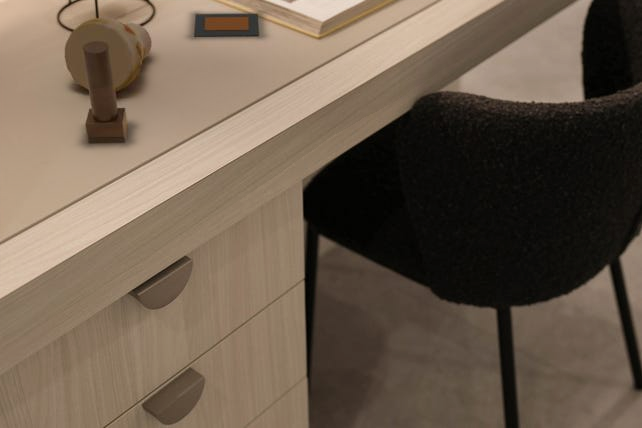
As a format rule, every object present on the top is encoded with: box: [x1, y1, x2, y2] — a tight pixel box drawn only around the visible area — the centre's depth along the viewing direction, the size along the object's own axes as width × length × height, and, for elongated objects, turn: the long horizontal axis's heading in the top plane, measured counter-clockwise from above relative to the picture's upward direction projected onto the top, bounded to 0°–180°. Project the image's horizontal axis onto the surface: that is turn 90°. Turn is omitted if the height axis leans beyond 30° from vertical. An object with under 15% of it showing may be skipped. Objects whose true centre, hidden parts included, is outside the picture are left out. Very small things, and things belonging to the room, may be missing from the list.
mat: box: [193, 13, 260, 38], centre depth 96 cm, size 7×5×1 cm
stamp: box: [82, 41, 129, 144], centre depth 75 cm, size 3×3×9 cm
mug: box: [64, 17, 153, 93], centre depth 85 cm, size 8×10×10 cm
